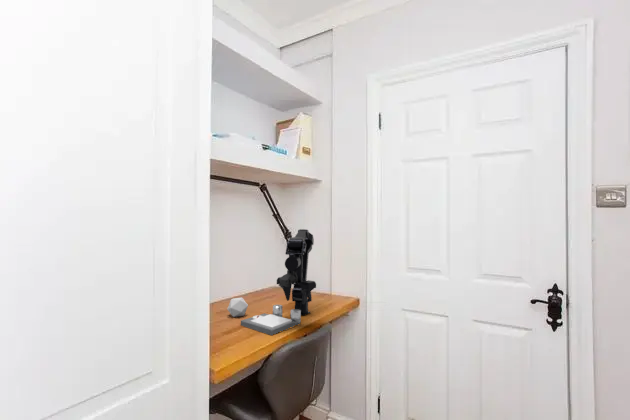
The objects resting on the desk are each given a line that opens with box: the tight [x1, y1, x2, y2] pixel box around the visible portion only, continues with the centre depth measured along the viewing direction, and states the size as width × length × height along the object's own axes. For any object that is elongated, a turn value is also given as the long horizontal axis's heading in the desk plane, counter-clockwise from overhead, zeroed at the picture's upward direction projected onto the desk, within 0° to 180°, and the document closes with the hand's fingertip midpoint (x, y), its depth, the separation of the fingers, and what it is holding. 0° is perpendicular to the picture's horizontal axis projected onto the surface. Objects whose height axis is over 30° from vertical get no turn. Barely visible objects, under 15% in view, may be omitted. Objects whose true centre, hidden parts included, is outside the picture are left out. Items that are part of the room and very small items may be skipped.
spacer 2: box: [290, 308, 302, 326], centre depth 145 cm, size 4×4×6 cm
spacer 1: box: [272, 304, 283, 317], centre depth 152 cm, size 4×4×6 cm
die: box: [226, 297, 249, 318], centre depth 156 cm, size 8×9×10 cm
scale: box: [240, 313, 296, 336], centre depth 142 cm, size 14×19×3 cm
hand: (295, 302), depth 145 cm, fingers open, 9 cm apart
